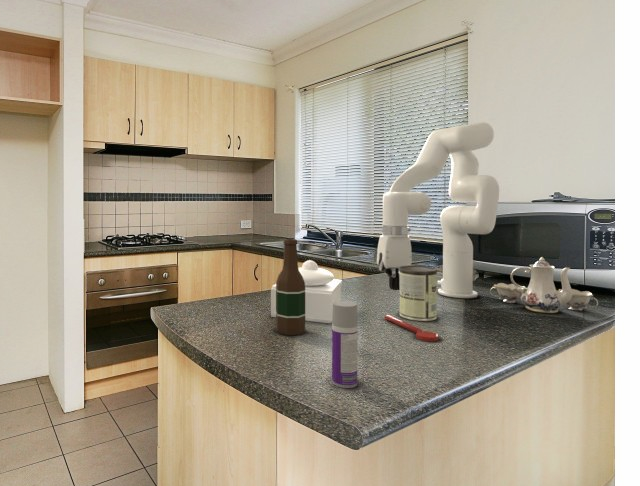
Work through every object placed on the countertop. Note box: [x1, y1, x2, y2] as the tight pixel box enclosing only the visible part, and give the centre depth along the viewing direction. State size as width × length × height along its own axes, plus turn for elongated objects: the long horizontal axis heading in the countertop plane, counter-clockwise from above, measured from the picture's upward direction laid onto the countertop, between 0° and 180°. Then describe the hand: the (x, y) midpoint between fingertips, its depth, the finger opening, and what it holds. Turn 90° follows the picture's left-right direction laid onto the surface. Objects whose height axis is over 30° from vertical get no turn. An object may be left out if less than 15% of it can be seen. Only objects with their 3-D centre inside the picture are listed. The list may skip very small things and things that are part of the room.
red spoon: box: [384, 314, 439, 342], centre depth 115 cm, size 20×5×1 cm, turn 15°
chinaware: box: [489, 256, 599, 314], centre depth 137 cm, size 28×17×17 cm, turn 62°
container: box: [331, 300, 359, 389], centre depth 82 cm, size 5×5×15 cm
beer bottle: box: [275, 238, 306, 336], centre depth 113 cm, size 8×8×24 cm
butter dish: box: [270, 259, 343, 324], centre depth 132 cm, size 18×18×16 cm
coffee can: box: [398, 265, 438, 322], centre depth 127 cm, size 10×10×14 cm
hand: (394, 289), depth 138 cm, fingers closed
